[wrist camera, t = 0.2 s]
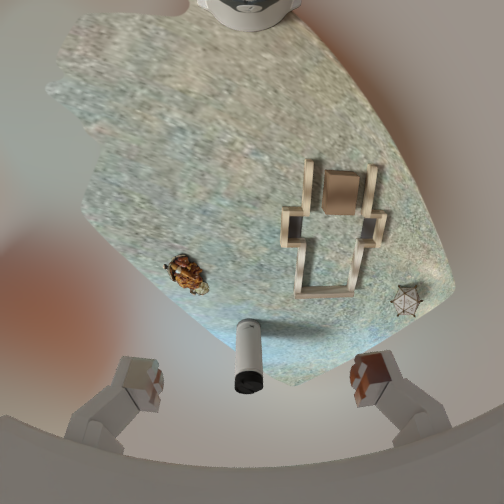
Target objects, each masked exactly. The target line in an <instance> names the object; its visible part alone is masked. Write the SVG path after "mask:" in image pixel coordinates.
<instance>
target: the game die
mask: <svg viewBox="0 0 504 504" xmlns="http://www.w3.org/2000/svg"><path fill="white" fill-rule="evenodd" d="M398 287H399V290H398V292H397V294H396V296H395V298H394V300H393V301H390V302H391V303H392V302H393V304H394V306H395V308H396V310H397V312H398V314H397V317H398V316H399V315H413V316H414V317H415V315H414V314H415V312H416V310H417V308H418V306H419V304H420V302H422V301H423V300H420V298H419V295H418V293H417V291H416V287H417V285H416V286H415V288H400V286H399V285H398Z"/></svg>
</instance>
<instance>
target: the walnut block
mask: <svg viewBox="0 0 504 504" xmlns="http://www.w3.org/2000/svg"><path fill="white" fill-rule="evenodd" d="M359 179H360V177H359V176H358V175H357V174H356V173H354V172H351V171H337V170H325V177H324V188H323V198H322V209H323V211H324V212H325V214H327V215H355V208H356V201H357V194H358V187H359Z"/></svg>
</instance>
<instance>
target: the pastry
mask: <svg viewBox="0 0 504 504" xmlns="http://www.w3.org/2000/svg"><path fill="white" fill-rule="evenodd" d="M163 268H164V269H167V271H168V274H169V276H170V279H171V280H172V281H174V282H177V283H178V284H179V285H180V286H181V287H183V288H190V290H191V291H190V293H191V294H193V295H195V293H197V294H198V295H204V294H206V293H207V292H208V291H209V289H208V288H209V286H208V284H207V283H204V282H202V281H203V280H202V278H201V276H200V275H199V273H201V272H202V269H200V268H199V267H198V265H197V264H196V263H194V262H193V263H191V262H189V261H188V257H187V256H186V255H177V256H176V257H173V258H172V261H171V262H170V263H169V266H167V265H166V264H164V265H163Z"/></svg>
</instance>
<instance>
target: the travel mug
mask: <svg viewBox="0 0 504 504" xmlns="http://www.w3.org/2000/svg"><path fill="white" fill-rule="evenodd" d="M262 389H263V366H262V346H261V326H260V324H259V323H258V322H257V321H256V320H253V319H244V320H242V321H240V322H239V323H238V324H237V331H236V357H235V390H236V391H237V392H238V393H242V394H253V393H254V392H257V391H259V390H262Z"/></svg>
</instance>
